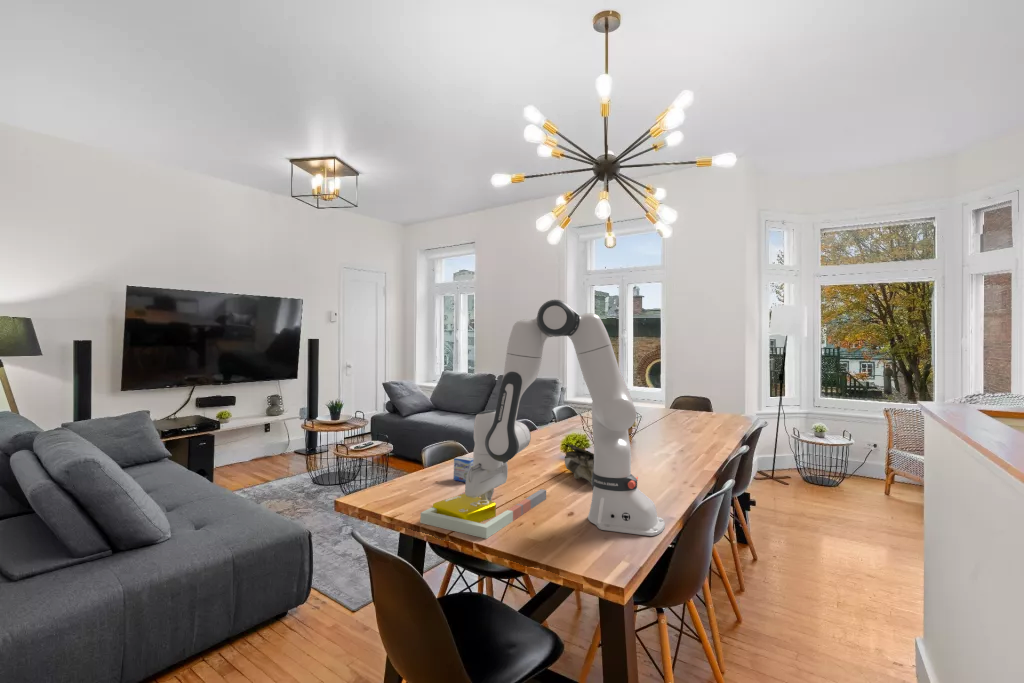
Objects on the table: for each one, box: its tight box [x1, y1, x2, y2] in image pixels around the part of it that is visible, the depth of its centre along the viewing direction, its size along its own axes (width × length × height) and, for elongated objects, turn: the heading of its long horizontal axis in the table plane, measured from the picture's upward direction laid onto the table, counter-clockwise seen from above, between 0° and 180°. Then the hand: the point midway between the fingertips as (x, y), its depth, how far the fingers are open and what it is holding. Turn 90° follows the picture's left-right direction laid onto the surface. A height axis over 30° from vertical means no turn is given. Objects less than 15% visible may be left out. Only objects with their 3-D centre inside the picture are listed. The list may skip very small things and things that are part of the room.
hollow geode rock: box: [564, 443, 594, 485], centre depth 191 cm, size 28×13×15 cm
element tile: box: [432, 493, 497, 523], centre depth 149 cm, size 15×15×5 cm
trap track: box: [420, 488, 547, 539], centre depth 154 cm, size 23×39×3 cm, turn 151°
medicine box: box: [453, 456, 473, 483], centre depth 187 cm, size 8×4×9 cm, turn 62°
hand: (486, 504), depth 154 cm, fingers closed
